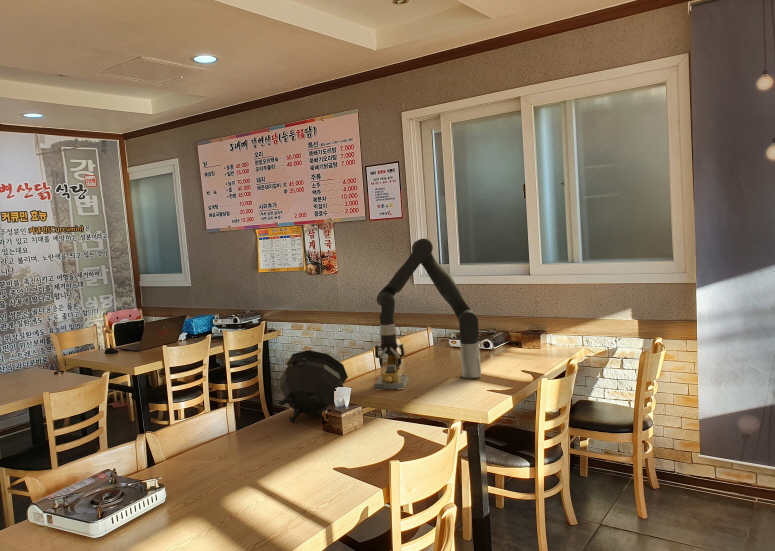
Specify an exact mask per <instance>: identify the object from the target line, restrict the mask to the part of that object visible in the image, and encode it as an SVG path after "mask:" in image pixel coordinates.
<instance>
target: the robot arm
mask: <svg viewBox="0 0 775 551" xmlns="http://www.w3.org/2000/svg"><path fill="white" fill-rule="evenodd" d="M433 249H434V245H433V243H432V240H430V239H428V238H424V237H423V238H419V239H418V240H416V241H414V242H413V244H412V246H411V254H410V255H409V257H408V259H406V261H405V262H404V263H403V264H402V265H401V267H400V268H399V269H397V271H396V272H395V274H394V275H393V276H392V277H391V279H390V280H389V282H388V283H387V284H386V285H385V286H384V287H383V288H382V289H381V290H380V292H378V294H377V295H376V296H377V297H376V303H377V304H378V305H379V306H380V307H381V308H380V310H381V312H380V313H379V325H380V326H379V334H380V345H379V344H376V345H375V347H374V358H375V359H379V360H378V362H379V366H380V367H384V358H383V357H384V356H385V354H386V355H388V354H393V353H394V354H395V355H396V356H397V357H398V366H400V367H401V365H402V358H404V357H405V355H406V354H405V349H404V348H405V347H404V343H401V344H397V341H398V340H397V332H396V325H395V307H396V301H395V297H394V296H395V295H397V293H400V292H401V291H402V290H403V288H404V287H405V286H406V284H407V283H408V282H409V280H410V278H411V277H412V276H413V274H414V272H415V271H416V270H417V269H418V268H419V266H420V265H421V266H422V267H423V268H424V270H425V271H426V274H427V276H428V277H429V279H430V280H431V282H432V283H433V285H434V286H435V288H436V290H437V291H438V293H439V294H440V296H441V297H442V298H443V299H444V300H445V301H446V303H447V304H449V306H450V307H451V309H452V310H453V312H454V314H455V316H456V318H457V321H458V325H459V347H460V359H461V360H460V361H461V374H462V377H463V378H464V379H478V378H481V376H482V367H481V366H482V365H481V356H480V355H481V354H480V342H479V341H480V338H479V337H480V331H479V330H480V329H479V318H478V315H477V314H476V313H475V312H474V310H473V309H472V308H471V307H470V306H469V305H468V303H467V302H466V301H465V300H464V297H463V296H462V293H461V291H460V289H459V287H458V285H457V283H456V281H455V280H454V279H453V278H452V276H451V275H450V273H449V272H448V270H446V268H444V266H442V265H441V264H440V263H439V262H438V260H437V259H436V258H435V256H434V254H433ZM398 348H399V350H400V352H399V351H398V350H397V349H398ZM380 349H381V351H382V352H381V353H380V354H379V350H380Z"/></svg>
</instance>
